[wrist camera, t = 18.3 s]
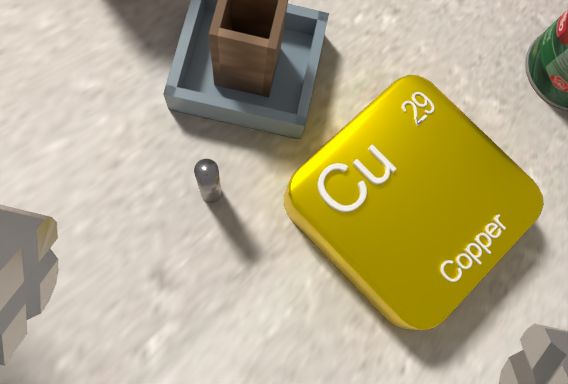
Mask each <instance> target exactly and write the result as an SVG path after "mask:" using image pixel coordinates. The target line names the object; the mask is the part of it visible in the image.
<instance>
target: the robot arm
mask: <svg viewBox="0 0 568 384" xmlns="http://www.w3.org/2000/svg"><path fill="white" fill-rule="evenodd" d="M57 238H58V235H57V222H56V221H55V220H54V219H53V218H52V217H49V216H45V215H41V214H37V213H32V212H28V211H24V210H20V209H16V208H12V207H8V206H4V205H0V365H5V364H6V363H7V361H8V360H9V359H10V357H11V356H12V354H13V353H14V351H15V350H16V349H17V347H18V346H19V344H20V343H21V341H22V340H23V339H24V337H25V336H26V334H27V321H26V320H28V319H30V318H32V317H34V316H36V315H38V314H40V313H41V312H42V311H43V309H44V308H45V306H46V305H47V303H48V302H49V300H50V298H51V295H52V293H53V290H54V288H55V285H56V281H57V275H58V258H57V257H56V256H55V254H54V253H53V252H52V250H51V249H50V248H51V246H52V245H53V244H54V242H55V241H56V240H57ZM520 341H521V344H522V348H523V350H522V351H520V352H518V353H516V354H514V355H512V356H510V357H509V358H508V360H507V361H506V363H505V365H504V367H503V369H502V370H501V375H500V381H499V384H568V331H567V330H562V329H557V328H553V327H548V326H543V325H539V324H534V325H532V326H531V327H529V328H528V329H527V330H526V331H525V333H524V334H523V336H522V337H521V339H520Z"/></svg>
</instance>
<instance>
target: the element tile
mask: <svg viewBox="0 0 568 384" xmlns="http://www.w3.org/2000/svg"><path fill="white" fill-rule="evenodd" d="M543 205H544V204H543V195H542V193H541V191H540V189H539V187H538V186H537V184H536V183H535V182H534V180H533V179H531V178H530V177H529V176H528V175H527V174H526V173H525V172H524V171H523V170H522V169H521V168H520V167H519V166H518V165H517V164H516V163H515V162H514V161H513V160H512V159H511V158H510V157H509V156H508V155H507V154H505V153H504V152H503V151H502V150H501V149H500V148H499V147H498V146H497V145H496V144H495V143H494V142H493V141H492V140H491V139H490V138H489V137H488V136H487V135H486V134H485V133H484V132H483V131H482V130H480V129H479V128H478V127H477V126H476V125H475V124H474V123H473V122H472V121H471V120H470V119H469V118H468V117H467V116H466V115H465V114H464V113H463V112H462V111H461V110H460V109H459V108H458V107H457V106H456V105H454V104H453V103H452V102H451V101H450V100H449V99H448V98H447V97H446V96H445V95H444V94H443V93H442V92H441V91H440V90H439V89H438V88H437V87H436V86H435V85H434V84H433V83H432V82H430V81H429V80H427V79H425V78H423V77H420V76H418V75H407V76H404V77H401V78H399V79H398V80H396V81H394V82H393V83H392V84H391V85H390V86H389V87H388V88H387V89H385V90H384V91H383V92H382V93H381V94H380V95H379V96H378V97H377V98H376V99H374V100H373V101H372V102H371V103H370V104H369V105H368V106H367V107H366V108H364V109H363V110H362V111H361V112H360V113H359V114H358V115H357V116H356V117H355V118H353V119H352V120H351V121H350V122H349V123H348V124H347V125H346V126H345V127H344V128H342V129H341V130H340V131H339V132H338V133H337V134H336V135H335V136H334V137H332V138H331V139H330V140H329V141H328V142H327V143H326V144H325V145H324V146H323V147H321V148H320V149H319V150H318V151H317V152H316V153H315V154H314V155H313V156H312V157H310V158H309V159H308V160H307V161H306V162H305V163H304V164H303V165H302V166H300V167H299V168H298V169H297V170H296V172H295V173H294V174H293V175H292V177H291V179H290V181H289V184H288V186H287V189H286V192H285V194H284V207H285V209H286V212H287V214H288V216H289V217H290V219H291V220H292V221H293V222H294V223H295V224H296V225H297V226H298V227H299V228H300V229H301V230H302V231H303V232H304V233H305V234H306V235H307V237H308V238H309V239H310V240H311V241H312V242H313V243H314V244H315V245H316V246H317V247H318V248H319V249H320V250H321V251H322V252H323V253H324V254H325V255H326V256H327V257H328V259H329V260H330V261H331V262H332V263H333V264H334V265H335V266H336V267H337V268H338V269H339V270H340V271H341V272H342V273H343V274H344V275H345V276H346V277H347V278H348V279H349V281H350V282H351V283H352V284H353V285H354V286H355V287H356V288H357V289H358V290H359V291H360V292H361V293H362V294H363V295H364V296H365V297H366V298H367V299H368V300H369V301H370V303H371V304H372V305H373V306H374V307H375V308H376V309H377V310H378V311H379V312H380V313H381V314H382V315H383V316H384V317H385V318H386V319H387V320H388V321H389V322H390V323H392V324H393V325H395V326H397V327H400V328H402V329H412V330H429V329H431V328H434V327H436V326H438V325H439V324H441V323H442V322H443V321H444V320H445V319H446V318H447V317H448V316H449V315H450V314H451V313H452V312H453V310H454V309H455V308H456V307H457V306H458V305H459V304H460V303H461V302H462V301H463V300H464V299H465V297H466V296H467V295H468V294H469V293H470V292H471V291H472V290H473V289H474V288H475V287H476V285H477V284H478V283H479V282H480V281H481V280H482V279H483V278H484V277H485V276H486V275H487V273H488V272H489V271H490V270H491V269H492V268H493V267H494V266H495V265H496V264H497V263H498V261H499V260H500V259H501V258H502V257H503V256H504V255H505V254H506V253H507V252H508V251H509V249H510V248H511V247H512V246H513V245H514V244H515V243H516V242H517V241H518V240H519V239H520V238H521V236H522V235H523V234H524V233H525V232H526V231H527V230H528V229H529V228H530V227H531V226H532V224H533V223H534V222H535V221H536V220H537V219H538V217H539V216H540V214H541V211H542V208H543Z"/></svg>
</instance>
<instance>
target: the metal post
mask: <svg viewBox="0 0 568 384" xmlns="http://www.w3.org/2000/svg"><path fill="white" fill-rule="evenodd" d="M194 173H195V176H196V180H197V183H198V186H199V189H200V193H201V196H202V198H203V199H204V200H205V201H206V202H210V203H213V202H216V201H217V200H219V198H220V197H221V185H220V178H219V170H218V166H217V164H216V163H215V162H214V161H213V160H211V159H202V160H200V161H199V162H198V163H197V164H196V165H195V168H194Z"/></svg>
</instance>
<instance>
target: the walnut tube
mask: <svg viewBox="0 0 568 384" xmlns="http://www.w3.org/2000/svg"><path fill="white" fill-rule="evenodd" d="M287 5H288V0H218V2H217V5H216V9H215V13H214V16H213V20H212V24H211V27H210V31H209V41H210V50H211V60H212V69H213V79H214V85H216V86H221V87H225V88H229V89H234V90H238V91H242V92H247V93H251V94H255V95H260V96H264V97H268V98H269V96H270V92H271V88H272V83H273V79H274V75H275V71H276V66H277V62H278V58H279V53H280V49H281V43H282V37H283V30H284V24H285V18H286V11H287Z"/></svg>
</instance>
